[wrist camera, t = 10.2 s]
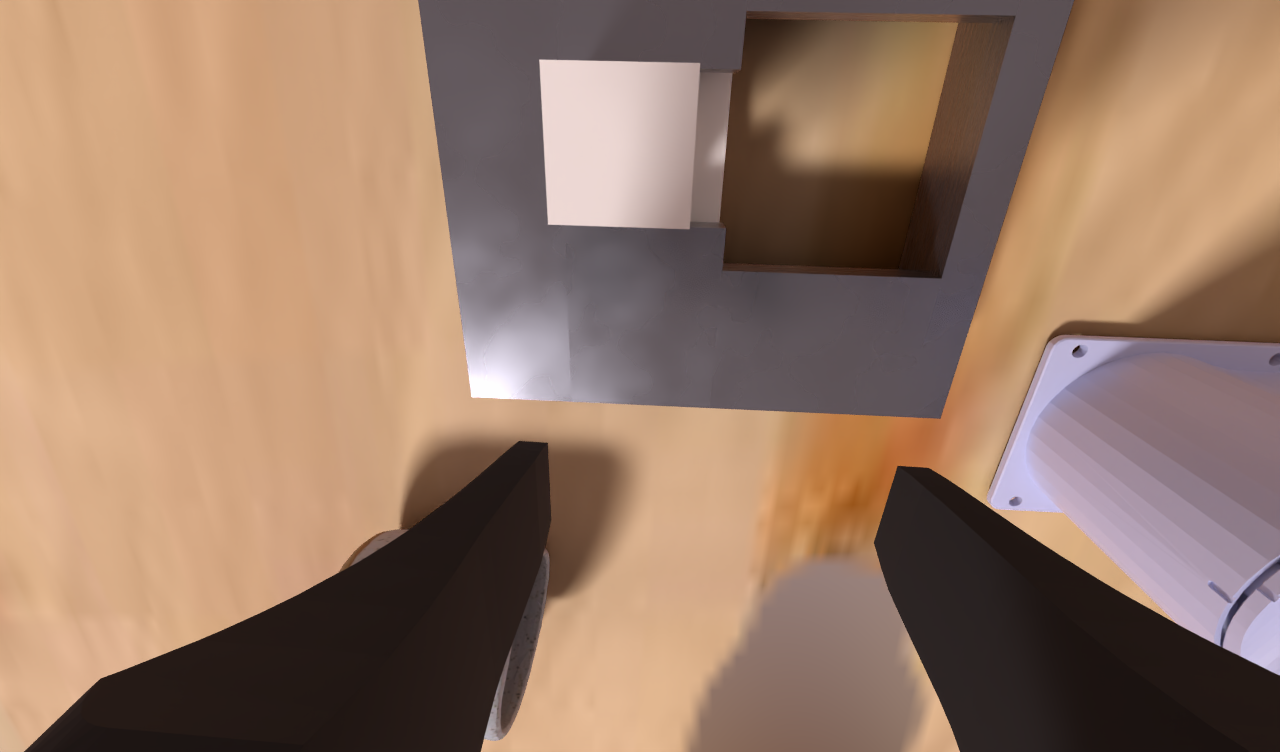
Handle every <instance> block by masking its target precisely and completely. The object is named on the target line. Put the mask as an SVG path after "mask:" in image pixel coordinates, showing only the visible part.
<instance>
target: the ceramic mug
mask: <svg viewBox="0 0 1280 752" xmlns="http://www.w3.org/2000/svg"><path fill="white" fill-rule="evenodd" d="M408 530H409V529H406V530H391V531H386V532H382V533H379V534H377V535H375V536H374V537H372V538H370V539H369V540H368V541H366V542H365V543H363V544H362V545H361V546H360V547H359V548H358V549H357V550H356V551H354V553H353V554H352V555H351V556H350V557H349V559H348V560H347V561H346V562H345V564H344V565H343V566H342V568H341V570H340V571H339V572H341V571H343V570H345V569H347V568H348V567H350V566H352V565H354V564H356V563H357V562H359V561H361V560H362V559H364V558H366V557H367V556H369V555H371V554H372V553H374V552H375V551H377V550H379V549H380V548H382V547H383V546H385V545H387V544H388V543H390V542H391V541H393V540H394V539H396V538H397V537H399V536H400V535H402V534H403V533H405V532H406V531H408ZM549 565H550V561H549V553H548V551H547V550H546V549H545V550H544V554H543V558H542V562H541V566H540V568H539V571H538V574H537V577H536V580H535V583H534V585H533V588H532V591H531V594H530V597H529V599H528V602H527V605H526V608H525V610H524V613H523V616H522V619H521V621H520V624H519V627H518V630H517V632H516V635H515V638H514V641H513V643H512V646H511V649H510V652H509V654H508V657H507V660H506V663H505V665H504V669H503V672H502V675H501V678H500V681H499V684H498V687H497V691H496V694H495V698H494V702H493V706H492V710H491V714H490V717H489V721H488V725H487V729H486V733H485V736H484V739H487V740H492V741H496V740H500V739H502V738H503V737H504V736H505V735H506V734H507V733H508V731H509V730H510V728H511V726H512V724H513V722H514V720H515V717H516V715H517V713H518V710H519V708H520V705H521V702H522V698H523V696H524V693H525V689H526V686H527V682H528V679H529V675H530V671H531V667H532V663H533V658H534V655H535V651H536V647H537V642H538V637H539V633H540V629H541V624H542V618H543V614H544V609H545V603H546V594H547V586H548V582H549Z"/></svg>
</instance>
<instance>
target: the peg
mask: <svg viewBox="0 0 1280 752" xmlns="http://www.w3.org/2000/svg"><path fill="white" fill-rule="evenodd" d="M539 63H540V82H541V101H542V120H543V139H544V158H545V177H546V196H547V215H548V225H576V226H606V227H636V228H665V229H690V222H718V223H719V222H720V210H721V199H722V187H723V176H724V165H725V153H726V142H727V130H728V119H729V108H730V96H731V85H732V74H733V73H707V72H700V63H675V62H628V61H582V60H539Z"/></svg>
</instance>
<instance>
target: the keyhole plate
mask: <svg viewBox="0 0 1280 752" xmlns="http://www.w3.org/2000/svg"><path fill="white" fill-rule="evenodd" d="M418 2H419V9H420V17H421V24H422V32H423V39H424V46H425V54H426V61H427V69H428V76H429V84H430V91H431V98H432V106H433V113H434V121H435V128H436V136H437V143H438V150H439V158H440V165H441V173H442V180H443V188H444V195H445V202H446V210H447V217H448V225H449V232H450V240H451V247H452V254H453V262H454V269H455V277H456V284H457V292H458V299H459V306H460V314H461V321H462V329H463V336H464V344H465V351H466V358H467V366H468V373H469V381H470V388H471V396H472V397H482V398H504V399H526V400H547V401H569V402H591V403H613V404H634V405H656V406H678V407H700V408H721V409H743V410H765V411H787V412H809V413H830V414H852V415H874V416H896V417H917V418H939V419H940V418H941V415H942V412H943V409H944V406H945V402H946V399H947V396H948V393H949V390H950V387H951V384H952V381H953V377H954V374H955V371H956V368H957V365H958V362H959V359H960V356H961V352H962V349H963V346H964V343H965V340H966V337H967V334H968V331H969V327H970V324H971V321H972V318H973V315H974V312H975V309H976V306H977V302H978V299H979V296H980V293H981V290H982V287H983V284H984V281H985V277H986V274H987V271H988V268H989V265H990V262H991V259H992V256H993V252H994V249H995V246H996V243H997V240H998V237H999V234H1000V231H1001V227H1002V224H1003V221H1004V218H1005V215H1006V212H1007V209H1008V206H1009V202H1010V199H1011V196H1012V193H1013V190H1014V187H1015V184H1016V181H1017V177H1018V174H1019V171H1020V168H1021V165H1022V162H1023V159H1024V156H1025V152H1026V149H1027V146H1028V143H1029V140H1030V137H1031V134H1032V130H1033V127H1034V124H1035V121H1036V118H1037V115H1038V112H1039V109H1040V105H1041V102H1042V99H1043V96H1044V93H1045V90H1046V87H1047V84H1048V80H1049V77H1050V74H1051V71H1052V68H1053V65H1054V62H1055V59H1056V55H1057V52H1058V49H1059V46H1060V43H1061V40H1062V37H1063V34H1064V30H1065V27H1066V24H1067V21H1068V18H1069V15H1070V12H1071V9H1072V5H1073V2H1074V0H418ZM746 19H791V20H847V21H904V22H959V23H958V28H957V32H956V36H955V40H954V44H953V48H952V52H951V56H950V60H949V65H948V69H947V73H946V77H945V81H944V85H943V89H942V93H941V97H940V101H939V106H938V110H937V114H936V118H935V122H934V126H933V130H932V134H931V138H930V142H929V147H928V151H927V155H926V159H925V163H924V167H923V171H922V175H921V179H920V184H919V188H918V192H917V196H916V200H915V204H914V208H913V212H912V216H911V220H910V225H909V229H908V233H907V237H906V241H905V245H904V249H903V253H902V257H901V261H900V266H899V269H877V268H849V267H821V266H793V265H764V264H736V263H723V257H724V246H725V236H726V227H725V225H724V224H723V223H718V222H690V229H665V228H636V227H606V226H576V225H548V215H547V196H546V177H545V158H544V139H543V120H542V101H541V82H540V63H539V60H582V61H628V62H675V63H700V72H707V73H737V72H739V71H740V70H741V65H742V54H743V43H744V33H745V22H746Z"/></svg>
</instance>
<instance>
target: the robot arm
mask: <svg viewBox="0 0 1280 752" xmlns="http://www.w3.org/2000/svg"><path fill="white" fill-rule="evenodd" d="M1079 345H1080V348H1079V349H1078V351H1076V352H1075V353H1072V351H1073V350H1074V348H1075V347H1077V346H1079ZM1273 355H1274V356H1273ZM1272 356H1273V357H1272ZM1271 357H1272V358H1271ZM1270 358H1271V359H1270ZM1013 497H1015V498H1014V499H1012V498H1013ZM1011 499H1012V500H1011ZM987 500H988V502H989V503H990V504H991V506H992V507H994V508H996V509H1003V510H1022V511H1041V512H1061V513H1064V514H1065V515H1066V516H1067V517H1068V518H1069V519H1070V520H1072V521H1073V522H1074V523H1075V524H1076V525H1077V526H1078V527H1079V528H1080V529H1081V530H1082V531H1083V532H1084V533H1085V534H1086V535H1087V536H1088V537H1089V538H1090V539H1091V540H1092V541H1093V542H1094V543H1095V544H1096V545H1097V546H1098V547H1099V548H1100V549H1101V550H1102V551H1103V552H1104V553H1105V554H1106V555H1107V556H1108V557H1109V558H1110V559H1111V560H1112V561H1113V562H1114V563H1115V564H1116V565H1117V566H1118V567H1119V568H1120V569H1121V570H1123V571H1124V572H1125V573H1126V574H1127V575H1128V576H1129V577H1130V578H1131V579H1132V580H1133V581H1134V582H1135V583H1136V584H1137V585H1138V586H1139V587H1140V588H1141V589H1142V590H1143V591H1144V592H1145V593H1146V594H1147V595H1148V596H1149V597H1150V598H1151V599H1152V600H1153V601H1154V602H1155V603H1156V604H1157V605H1158V606H1159V607H1160V608H1161V609H1162V610H1163V611H1164V612H1165V613H1166V614H1167V615H1168V616H1169V617H1170V618H1171V619H1173V620H1174V621H1175V622H1176V623H1177V624H1176V623H1174V622H1172V621H1171V620H1169V619H1167V618H1165V617H1163V616H1162V615H1160V614H1158V613H1156V612H1154V611H1153V610H1151V609H1149V608H1147V607H1145V606H1144V605H1142V604H1140V603H1138V602H1136V601H1135V600H1133V599H1131V598H1129V597H1127V596H1126V595H1124V594H1122V593H1120V592H1119V591H1117V590H1115V589H1114V588H1112V587H1110V586H1109V585H1107V584H1105V583H1104V582H1102V581H1100V580H1099V579H1097V578H1095V577H1094V576H1092V575H1091V574H1089V573H1087V572H1086V571H1084V570H1083V569H1081V568H1079V567H1078V566H1076V565H1075V564H1073V563H1071V562H1070V561H1068V560H1067V559H1065V558H1063V557H1062V556H1060V555H1059V554H1057V553H1055V552H1054V551H1052V550H1051V549H1049V548H1048V547H1046V546H1045V545H1043V544H1042V543H1040V542H1039V541H1037V540H1036V539H1034V538H1033V537H1031V536H1030V535H1028V534H1027V533H1025V532H1024V531H1022V530H1021V529H1019V528H1018V527H1016V526H1015V525H1013V524H1012V523H1010V522H1009V521H1008V520H1006V519H1005V518H1003V517H1002V516H1000V515H999V514H997V513H996V512H994V511H993V510H992V509H990V508H989V507H987V506H986V505H984V504H983V503H981V502H980V501H979V500H977V499H976V498H974V497H973V496H971V495H970V494H968V493H967V492H965V491H964V490H963V489H961V488H960V487H958V486H957V485H955V484H954V483H952V482H951V481H949V480H947V479H946V478H944V477H943V476H941V475H940V474H938V473H936V472H934V471H933V470H931V469H929V468H921V467H906V466H898V467H897V470H896V473H895V477H894V480H893V483H892V486H891V489H890V493H889V496H888V499H887V502H886V506H885V509H884V512H883V515H882V518H881V522H880V525H879V528H878V531H877V534H876V538H875V541H874V544H875V548H876V551H877V555H878V558H879V562H880V565H881V569H882V572H883V575H884V578H885V581H886V584H887V587H888V590H889V592H890V594H891V596H892V599H893V601H894V603H895V605H896V608H897V610H898V612H899V614H900V616H901V619H902V621H903V623H904V625H905V627H906V629H907V632H908V634H909V636H910V638H911V640H912V642H913V644H914V646H915V649H916V651H917V653H918V655H919V657H920V659H921V661H922V663H923V666H924V668H925V670H926V672H927V674H928V676H929V678H930V681H931V683H932V685H933V687H934V689H935V691H936V693H937V695H938V698H939V700H940V702H941V704H942V707H943V709H944V711H945V714H946V716H947V719H948V721H949V723H950V726H951V728H952V731H953V733H954V736H955V739H956V742H957V745H958V747H959V750H960V752H1280V343H1259V342H1234V341H1209V340H1184V339H1159V338H1133V337H1108V336H1083V335H1059V336H1057V337H1055V338H1053V339H1052V340H1051V341H1049V343H1048V344H1047V346H1046V348H1045V351H1044V353H1043V356H1042V358H1041V361H1040V363H1039V366H1038V368H1037V371H1036V373H1035V376H1034V378H1033V381H1032V383H1031V386H1030V388H1029V391H1028V394H1027V396H1026V399H1025V401H1024V404H1023V406H1022V409H1021V411H1020V414H1019V416H1018V419H1017V421H1016V424H1015V426H1014V429H1013V431H1012V434H1011V437H1010V439H1009V442H1008V444H1007V447H1006V449H1005V452H1004V454H1003V457H1002V459H1001V462H1000V464H999V467H998V469H997V472H996V474H995V477H994V480H993V482H992V485H991V487H990V490H989V492H988V495H987ZM550 523H551V505H550V483H549V461H548V443H541V442H525V441H518V442H517V443H516V444H515V445H514V446H512V447H511V448H510V449H509V450H508V451H506V452H505V453H504V454H503V455H502V456H501V457H500V458H498V459H497V460H496V461H495V462H494V463H493V464H492V465H490V466H489V467H488V468H487V469H486V470H485V471H483V472H482V473H481V474H480V475H479V476H478V477H476V478H475V479H474V480H473V481H472V482H470V483H469V484H468V485H467V486H466V487H464V488H463V489H462V490H461V491H460V492H458V493H457V494H456V495H455V496H453V497H452V498H451V499H450V500H448V501H447V502H446V503H444V504H443V505H442V506H440V507H439V508H438V509H436V510H435V511H434V512H432V513H431V514H430V515H428V516H427V517H426V518H424V519H423V520H422V521H420V522H419V523H418V524H416V525H415V526H414V527H412V528H411V529H409V530H408V531H406V532H405V533H403V534H402V535H400V536H399V537H397V538H396V539H394V540H393V541H391V542H390V543H388V544H387V545H385V546H383V547H382V548H380V549H379V550H377V551H375V552H374V553H372V554H371V555H369V556H367V557H366V558H364V559H362V560H361V561H359V562H357V563H356V564H354V565H352V566H350V567H348V568H347V569H345V570H343V571H341V572H339V573H337V574H335V575H334V576H332V577H330V578H328V579H326V580H324V581H323V582H321V583H319V584H317V585H315V586H313V587H312V588H310V589H308V590H306V591H304V592H302V593H300V594H299V595H297V596H295V597H293V598H291V599H289V600H286V601H284V602H282V603H280V604H278V605H276V606H274V607H272V608H270V609H268V610H266V611H264V612H262V613H260V614H257V615H255V616H253V617H251V618H248V619H246V620H244V621H242V622H240V623H237V624H235V625H233V626H231V627H229V628H226V629H224V630H222V631H219V632H217V633H215V634H212V635H210V636H208V637H205V638H203V639H201V640H198V641H196V642H193V643H191V644H188V645H186V646H183V647H181V648H178V649H176V650H173V651H171V652H168V653H166V654H163V655H161V656H158V657H156V658H153V659H151V660H148V661H145V662H143V663H140V664H138V665H135V666H133V667H130V668H128V669H125V670H123V671H120V672H117V673H115V674H112V675H109V676H107V677H104V678H101V679H100V680H99V681H97V682H96V683H95V684H94V685H93V686H92V687H91V688H90V689H89V690H88V691H87V692H86V693H85V694H84V695H83V696H82V697H81V698H80V699H78V700H77V701H76V702H75V703H74V704H73V705H72V706H71V707H70V708H69V709H68V710H67V711H66V712H65V713H64V714H63V715H62V716H61V717H60V718H59V719H58V720H57V721H56V722H55V723H54V724H52V725H51V726H50V727H49V728H48V729H47V730H46V731H45V732H44V733H43V734H42V735H41V736H40V737H39V738H38V739H37V740H36V741H35V742H34V743H33V744H32V745H31V746H30V747H29V748H27V749H26V750H25V751H24V752H481V748H482V744H483V740H484V736H485V733H486V729H487V725H488V721H489V717H490V714H491V710H492V706H493V702H494V698H495V694H496V691H497V687H498V684H499V681H500V678H501V675H502V672H503V669H504V665H505V663H506V660H507V657H508V654H509V652H510V649H511V646H512V643H513V641H514V638H515V635H516V632H517V630H518V627H519V624H520V621H521V619H522V616H523V613H524V610H525V608H526V605H527V602H528V599H529V597H530V594H531V591H532V588H533V585H534V583H535V580H536V577H537V574H538V571H539V568H540V566H541V562H542V558H543V554H544V550H545V545H546V541H547V537H548V532H549V527H550Z"/></svg>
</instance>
